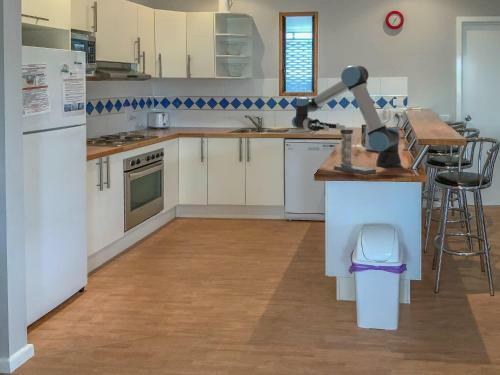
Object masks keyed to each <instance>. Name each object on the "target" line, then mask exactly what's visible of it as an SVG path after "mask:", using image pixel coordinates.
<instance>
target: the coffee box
mask: <svg viewBox="0 0 500 375" xmlns="http://www.w3.org/2000/svg"><path fill="white" fill-rule="evenodd" d="M366 126H367V125H366V124H361V146H362V147H365V138H366Z"/></svg>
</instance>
